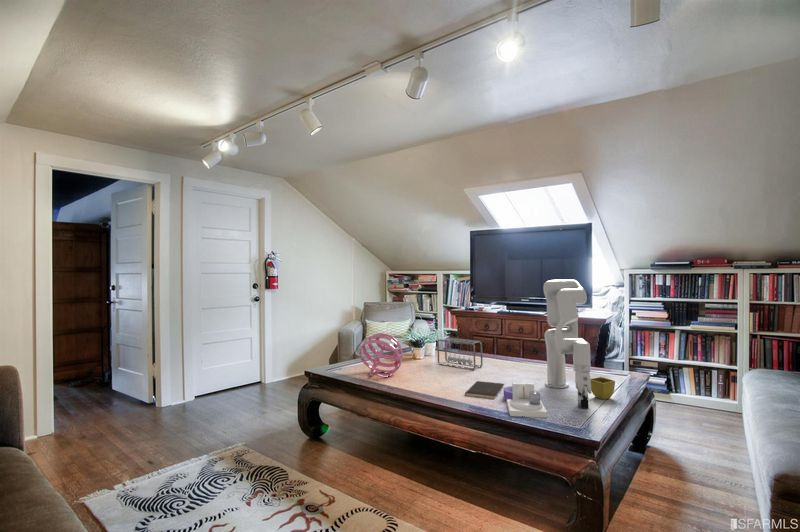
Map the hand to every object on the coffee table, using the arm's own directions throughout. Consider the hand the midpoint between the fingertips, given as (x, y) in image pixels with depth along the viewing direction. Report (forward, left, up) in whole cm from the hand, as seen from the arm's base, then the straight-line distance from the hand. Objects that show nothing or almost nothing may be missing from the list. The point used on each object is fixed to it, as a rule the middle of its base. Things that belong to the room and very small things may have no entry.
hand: (583, 405), depth 192 cm
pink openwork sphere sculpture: (-50, -108, -1) cm, 119 cm away
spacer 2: (0, 0, 0) cm, 0 cm away
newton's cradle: (-78, -60, -1) cm, 98 cm away
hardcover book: (-21, -45, -1) cm, 49 cm away
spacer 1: (+8, -23, +3) cm, 25 cm away
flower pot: (-15, +13, -1) cm, 20 cm away
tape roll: (-9, -30, -1) cm, 31 cm away
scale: (+7, -27, 0) cm, 28 cm away
